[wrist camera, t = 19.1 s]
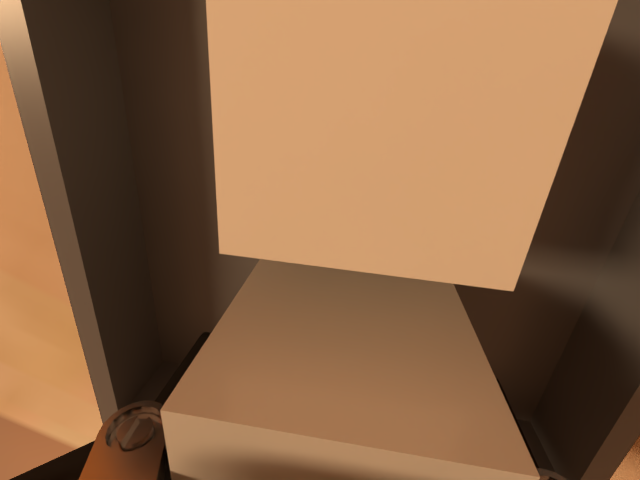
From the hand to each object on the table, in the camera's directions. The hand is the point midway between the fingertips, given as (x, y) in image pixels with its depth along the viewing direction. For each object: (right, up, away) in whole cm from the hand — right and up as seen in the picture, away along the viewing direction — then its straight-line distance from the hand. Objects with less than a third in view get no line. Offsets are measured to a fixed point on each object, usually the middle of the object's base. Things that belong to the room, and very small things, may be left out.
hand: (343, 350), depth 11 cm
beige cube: (0, 0, +1) cm, 0 cm away
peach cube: (+1, +8, 0) cm, 8 cm away
